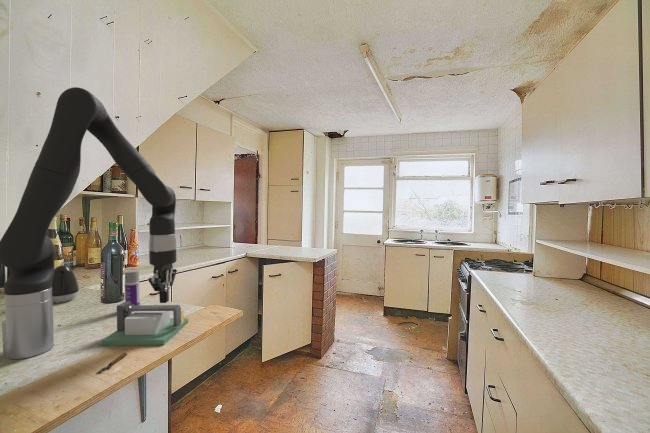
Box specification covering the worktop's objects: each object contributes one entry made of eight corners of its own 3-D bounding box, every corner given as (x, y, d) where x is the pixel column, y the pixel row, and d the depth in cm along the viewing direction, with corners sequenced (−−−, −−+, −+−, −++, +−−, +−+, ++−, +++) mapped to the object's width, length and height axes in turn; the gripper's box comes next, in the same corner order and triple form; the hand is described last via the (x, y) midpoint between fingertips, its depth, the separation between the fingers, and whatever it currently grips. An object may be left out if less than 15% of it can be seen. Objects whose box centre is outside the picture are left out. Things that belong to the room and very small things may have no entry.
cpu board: (101, 345, 85) (100, 313, 84) (135, 322, 101) (135, 295, 100) (164, 344, 85) (163, 313, 85) (188, 322, 101) (187, 295, 101)
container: (123, 312, 110) (122, 273, 110) (128, 307, 115) (127, 270, 114) (137, 310, 112) (136, 272, 111) (141, 306, 116) (140, 269, 116)
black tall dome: (45, 307, 115) (44, 269, 114) (47, 300, 123) (45, 264, 122) (79, 301, 122) (78, 265, 121) (78, 295, 130) (77, 261, 129)
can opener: (123, 356, 79) (123, 352, 79) (131, 356, 79) (131, 352, 79) (92, 375, 71) (92, 371, 70) (101, 376, 70) (100, 371, 70)
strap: (123, 327, 91) (122, 308, 91) (130, 322, 94) (130, 304, 94) (176, 326, 91) (175, 307, 91) (181, 322, 95) (181, 303, 95)
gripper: (162, 245, 98) (163, 295, 99) (138, 252, 85) (139, 310, 86) (184, 245, 99) (185, 295, 99) (164, 251, 85) (165, 309, 86)
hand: (164, 302), depth 93 cm, fingers closed
